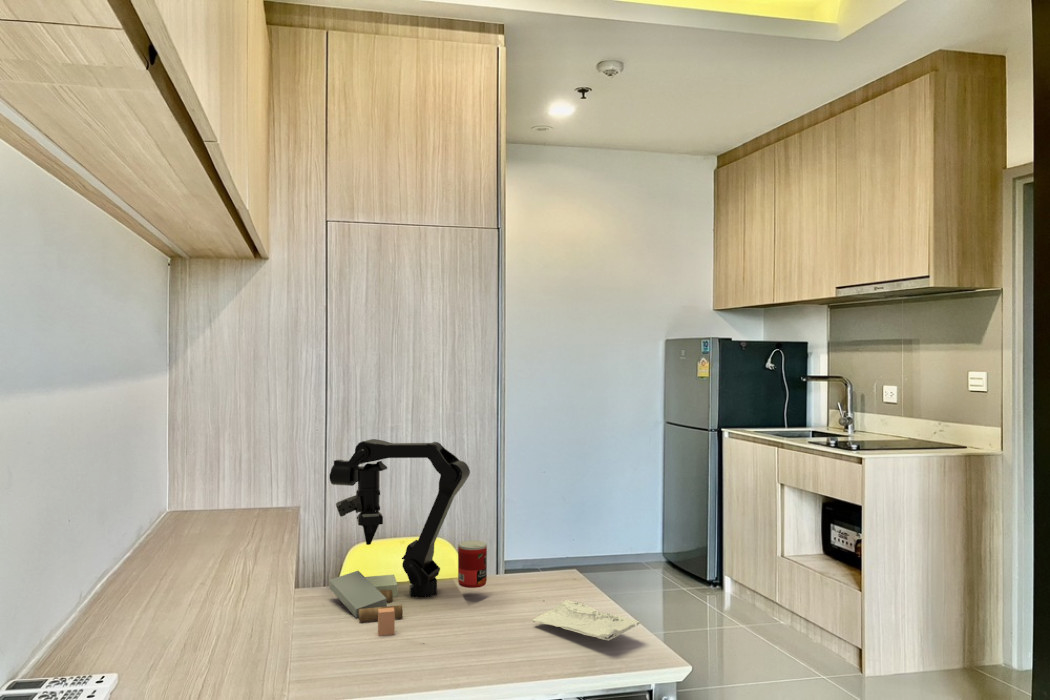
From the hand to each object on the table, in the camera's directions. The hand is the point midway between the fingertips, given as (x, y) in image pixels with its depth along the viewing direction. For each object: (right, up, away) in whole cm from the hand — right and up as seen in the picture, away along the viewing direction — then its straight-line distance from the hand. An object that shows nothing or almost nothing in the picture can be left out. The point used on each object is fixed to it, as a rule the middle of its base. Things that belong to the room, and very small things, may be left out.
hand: (368, 544), depth 191 cm
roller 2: (+8, -12, -22) cm, 27 cm away
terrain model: (+57, -13, -24) cm, 63 cm away
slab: (0, -10, -13) cm, 16 cm away
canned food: (+28, -12, +5) cm, 31 cm away
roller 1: (+3, -10, -8) cm, 13 cm away
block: (+2, -12, -3) cm, 13 cm away
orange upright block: (+11, -12, -31) cm, 34 cm away
